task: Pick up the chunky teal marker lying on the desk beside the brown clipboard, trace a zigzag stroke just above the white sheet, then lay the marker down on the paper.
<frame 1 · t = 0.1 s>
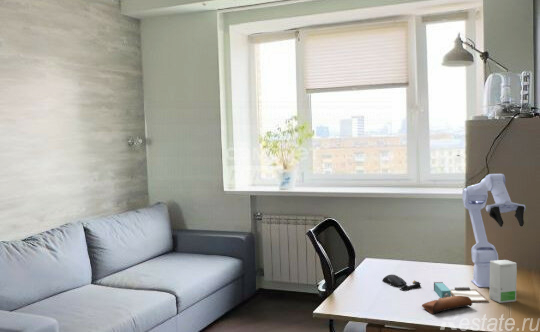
hand: (512, 225, 197), 32 cm above the table, tool tilted 50°, fingers open, 7 cm apart
skincare box: (502, 300, 208), on the table
computer mouse: (402, 285, 232), on the table
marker: (442, 295, 215), on the table
clipboard: (467, 296, 213), on the table
sunglasses case: (446, 307, 201), on the table, touching clipboard
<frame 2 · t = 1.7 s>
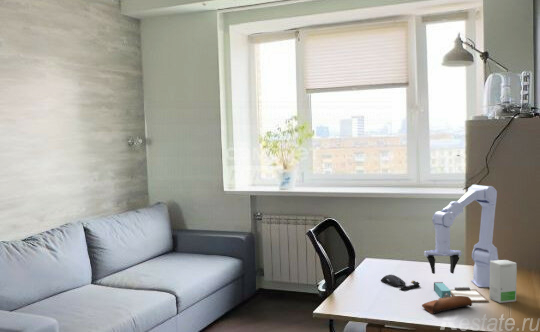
hand: (442, 272, 215), 9 cm above the table, tool pointing down, fingers open, 7 cm apart
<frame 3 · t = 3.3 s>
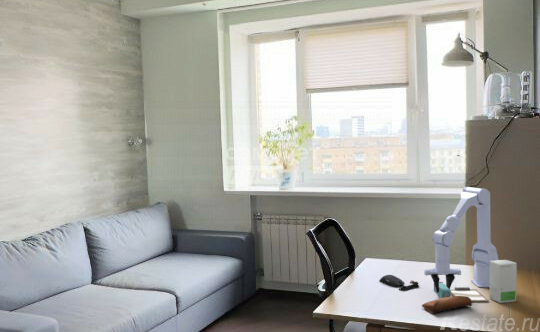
hand: (442, 291, 215), 1 cm above the table, tool pointing down, fingers closed on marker, 4 cm apart
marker: (442, 295, 215), on the table, touching gripper
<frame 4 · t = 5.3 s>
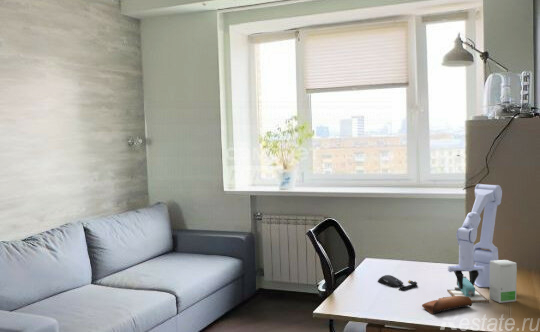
hand: (466, 288, 216), 2 cm above the table, tool pointing down, fingers closed on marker, 4 cm apart
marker: (465, 290, 216), point 1 cm above the table, tilted 7°, touching clipboard, gripper
when the fingers open (2 cm above the table, at t = 7.6 s): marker stays where it is, resting on clipboard.
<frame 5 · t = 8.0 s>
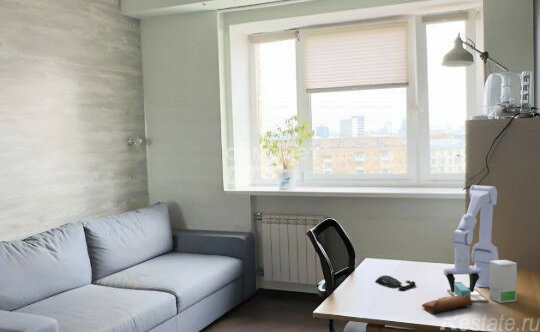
hand: (462, 291, 212), 2 cm above the table, tool pointing down, fingers open, 7 cm apart
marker: (461, 295, 212), point 1 cm above the table, touching clipboard
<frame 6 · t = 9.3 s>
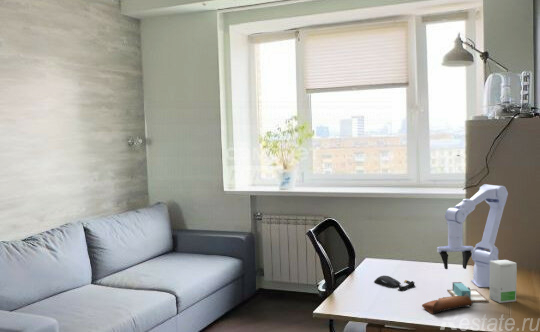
hand: (455, 268, 218), 10 cm above the table, tool pointing down, fingers open, 7 cm apart
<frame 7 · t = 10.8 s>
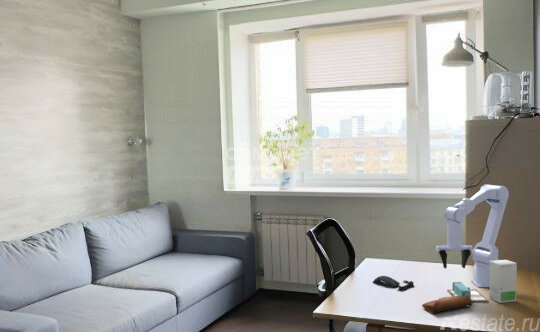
hand: (454, 267, 218), 10 cm above the table, tool pointing down, fingers open, 7 cm apart
at the end: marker inside the target area on the clipboard (2.7 cm from its centre), point 0.7 cm above the clipboard's base; the gripper is holding nothing; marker moved 7.6 cm from its start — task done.
